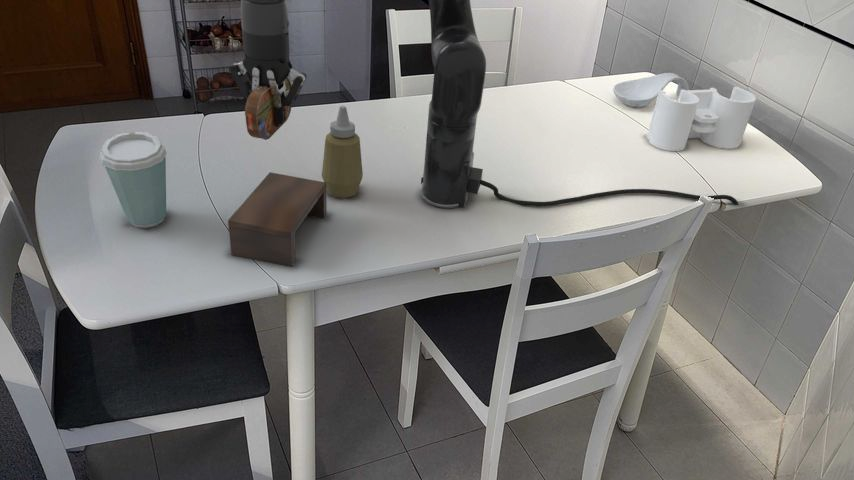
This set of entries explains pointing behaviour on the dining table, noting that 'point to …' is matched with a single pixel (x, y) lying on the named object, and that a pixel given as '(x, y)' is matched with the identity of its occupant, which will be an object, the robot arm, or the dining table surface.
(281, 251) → the stand
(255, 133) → the tin
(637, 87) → the spoon rest
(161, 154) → the disposable coffee cup
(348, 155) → the squeeze bottle
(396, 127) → the dining table surface
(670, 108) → the bracket
